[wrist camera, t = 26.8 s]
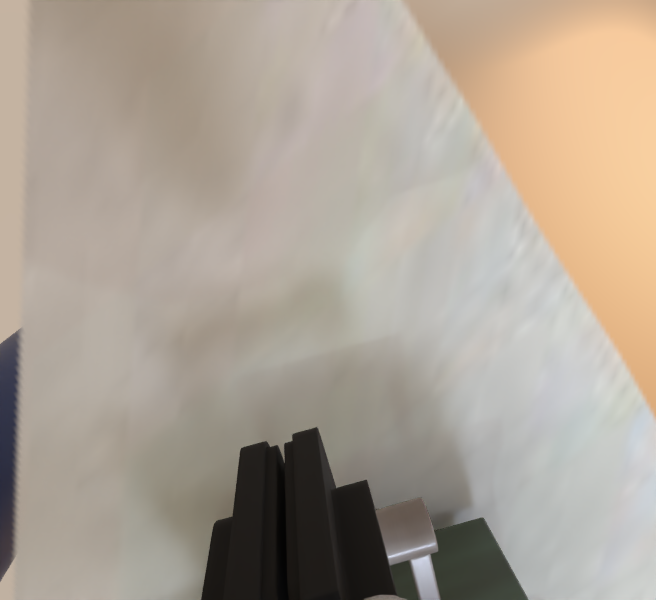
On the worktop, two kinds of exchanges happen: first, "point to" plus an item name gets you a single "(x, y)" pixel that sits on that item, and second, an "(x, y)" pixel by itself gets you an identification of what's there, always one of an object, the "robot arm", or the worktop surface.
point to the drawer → (444, 557)
